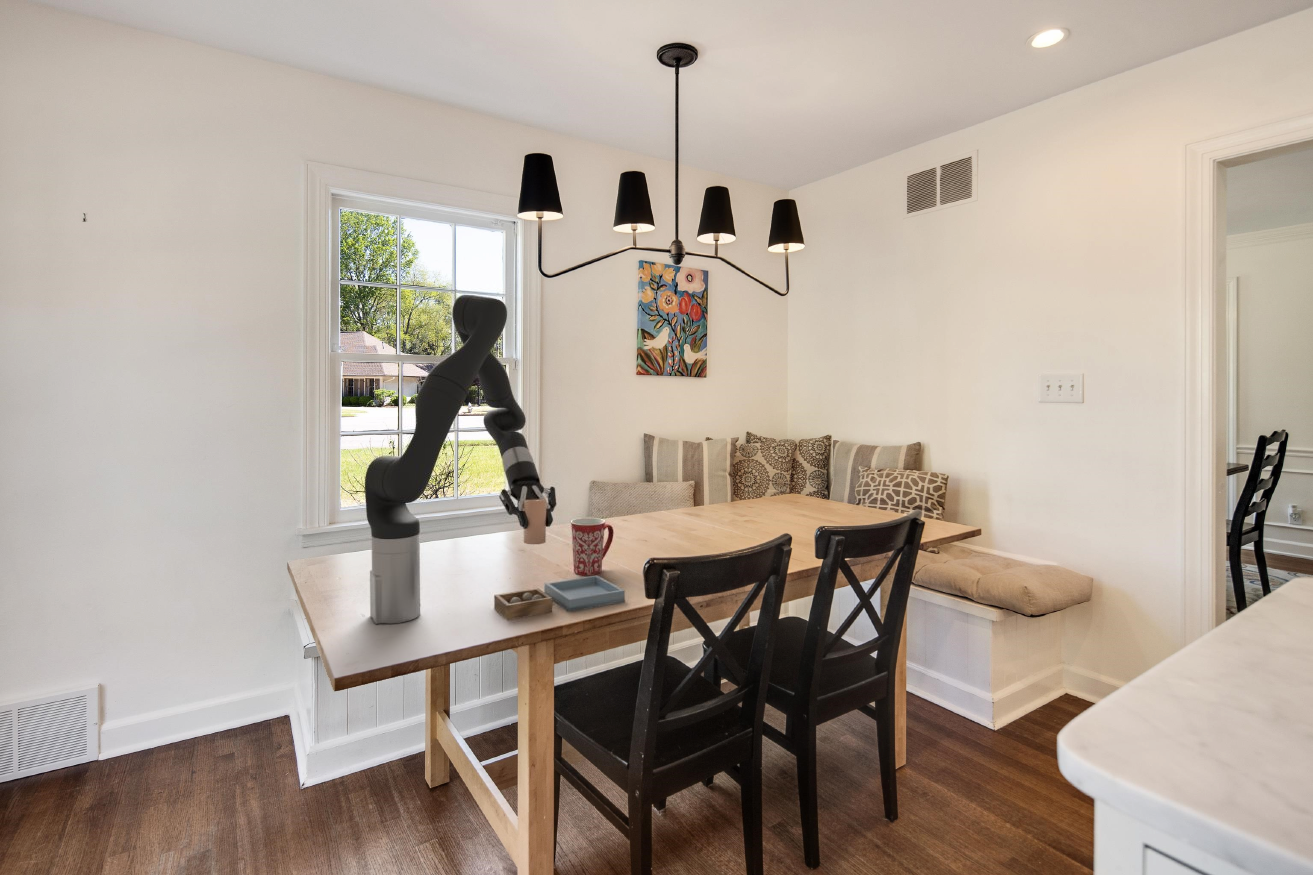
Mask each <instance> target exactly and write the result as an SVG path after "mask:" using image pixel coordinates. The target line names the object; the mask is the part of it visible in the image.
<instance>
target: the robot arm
mask: <svg viewBox="0 0 1313 875" xmlns="http://www.w3.org/2000/svg"><path fill="white" fill-rule="evenodd" d="M451 316H452V321H453V325H454V327H455V330H456V332H457V334H458V336H459V338H460V340H461V343H462V346H460V347H459V348H458V349H456V350H455V351H454V352H452V353H451V354H449V355H448V356H447V357H445V358H444V359H442V360H441V361H440V362H438V363H436V365H435V366H434V367H432V368H431V369H430V370H429V372H428V374H427V375H426V376H425V379H424V380H423V383H422V385H421V387H420V388H419V390H418V393H417V395H416V398H415V407H414V408H415V429H414V433H413V435H412V438H411V440H410V441H409V443H408V445H407V447H406V449H405V451H404V453H403V454H402V455H401V456H398V455H396V456H395V455H380V456H378V457H376V458H375V459H373V460H372V461H371V462H370V464H369V465H368V467H367V468H366V469H367V470H366V472H365V477H364V479H365V480H364V494H365V496H364V497H365V512H366V518H367V520H366V521H367V523H368V525H369V526H370V531H371V532H370V533H371V570H369V594H370V595H369V598H370V600H369V603H370V604H369V605H370V606H369V610H370V613H369V614H370V617H371V619H372V621H373V622H374V624H375V625H378V624H399V623H405V622H409V621H412V620H415V619H417V618H418V617H420V615H421V605H422V604H421V546H420V545H421V543H420V542H421V538H420V537H421V536H420V535H421V533H420V532H421V528H420V527H421V526H420V525H421V524H420V520H419V519H418V518H417V517H416V516H415V515H414V514H413V513H412V512H411V511H410V510H409V509H408V506H407V504H411V503H414V502H415V501H417V500H418V499H419V498H421V496H422V495H423V494H424V493H425V491H426V489H427V487H428V485H429V482H430V479H431V477H432V474H433V472H434V469H435V467H436V464H437V461H438V458H439V456H440V453H441V450H442V447H443V445H444V443H445V441H446V439H447V437H448V434H449V432H450V430H451V429H452V426H453V424H454V422H455V419H456V418H457V416H458V414H459V412H460V411H461V409H462V406H463V405H464V403H465V400H466V398H467V396H468V394H469V392H470V389H471V388H472V385H473V383H474V381H475V379H476V377H478V380H479V384H480V387H481V391H482V395H483V399H484V401H485V403H486V405H487V406H488V407H489V408H493V409H491V410H488V411H486V413H485V414H484V416H483V425H484V428H485V431H487V433H488V434H489V435H490V437H491V438H492V439H493V440H494V442H495V444H496V446H497V447H498V450H499V454H500V457H501V462H502V467H503V472H504V474H505V477H506V480H507V484H508V487H509V489H508V490H506V489H504V488H503V489H501V491H500V493H499V498H498V499H499V500H500V502H501V503H502V505H503V507H504V509H505V510H506V512H507V514H508V515H509V516H512V515H515V516H516V517H517V520H518V523H519V526H520V527H521V528H523V529H522V530H524V529H527V527H528V525H529V523H528V519H527V516H526V513H525V511H524V500H525V499H531V498H540V499H547V501H546V528H550V527H551V525H552V524H553V522H554V518H553V515H552V513H553V512H554V510H555V508H556V506H557V498H556V487H554V486H550V487H549V488H548V487H544V486H543V485H542V484H541V479H540V477H539V473H538V471H537V467H536V465H535V461H534V458H533V456H532V454H531V452H530V450H529V446H528V444H527V440H526V438H525V436H524V434H523V433H521V432H519V431H521V430H522V429H523V428H524V427H525V425H526V423H527V421H526V419H527V418H526V416H525V412H524V411H523V409H522V408H521V406H520V404H519V403H518V402H517V400H516V399H515V397H514V394H513V390H512V386H511V383H510V379H509V375H508V373H507V371H506V368H505V367H504V365H503V364H502V362H500V360H499V359H498V357H497V356H496V355H495V354H494V353H493V352H492V349H493V348H494V346H495V344H496V343H497V342H498V340H499V338H500V337H501V335H502V333H503V332H504V331H503V330H504V329H505V328H506V327H505V326H506V323H507V318H508V309H507V305H506V304H505V302H504V301H502V300H500V299H499V298H494V297H491V296H490V297H489V296H482V295H475V294H461V295H459V296H458V297H457V298H456V300H455V301H454V303H453V306H452V312H451ZM543 494H544V495H545V496H544V495H543ZM511 497H512V498H513V499H514V500H516V502H517V503H516V505H515V503H514V501H513V499H512V498H511Z"/></svg>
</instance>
